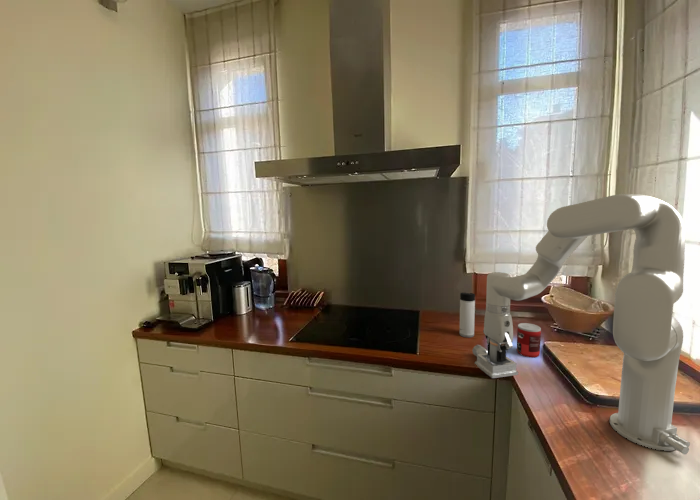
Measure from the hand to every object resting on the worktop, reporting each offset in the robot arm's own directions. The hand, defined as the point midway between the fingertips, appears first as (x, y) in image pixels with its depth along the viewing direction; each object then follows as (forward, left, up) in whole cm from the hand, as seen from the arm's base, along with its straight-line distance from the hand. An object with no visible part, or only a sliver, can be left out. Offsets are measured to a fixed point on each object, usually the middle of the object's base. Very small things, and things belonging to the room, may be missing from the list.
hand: (496, 357), depth 109 cm
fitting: (+3, 0, -4) cm, 5 cm away
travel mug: (+30, -7, -5) cm, 31 cm away
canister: (0, 0, -1) cm, 1 cm away
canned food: (+8, -20, -5) cm, 22 cm away
